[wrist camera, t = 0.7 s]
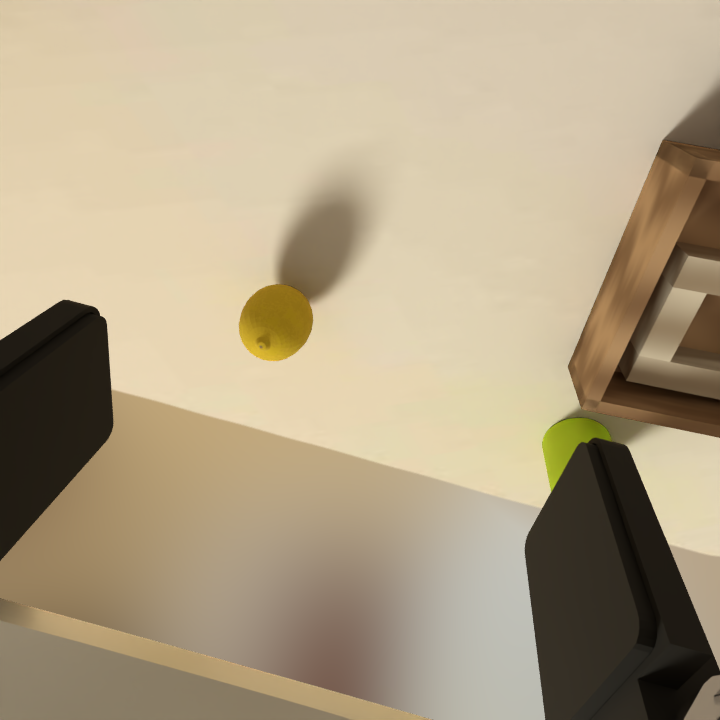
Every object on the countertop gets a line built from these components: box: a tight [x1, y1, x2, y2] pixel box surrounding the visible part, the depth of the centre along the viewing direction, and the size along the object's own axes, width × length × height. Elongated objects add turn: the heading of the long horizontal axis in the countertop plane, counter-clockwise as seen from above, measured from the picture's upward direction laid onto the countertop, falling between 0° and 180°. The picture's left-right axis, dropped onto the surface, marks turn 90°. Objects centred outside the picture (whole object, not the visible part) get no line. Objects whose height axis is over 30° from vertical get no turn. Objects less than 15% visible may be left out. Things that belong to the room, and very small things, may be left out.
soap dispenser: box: [542, 418, 612, 492], centre depth 40 cm, size 6×7×20 cm
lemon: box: [239, 284, 313, 361], centre depth 42 cm, size 6×6×8 cm
